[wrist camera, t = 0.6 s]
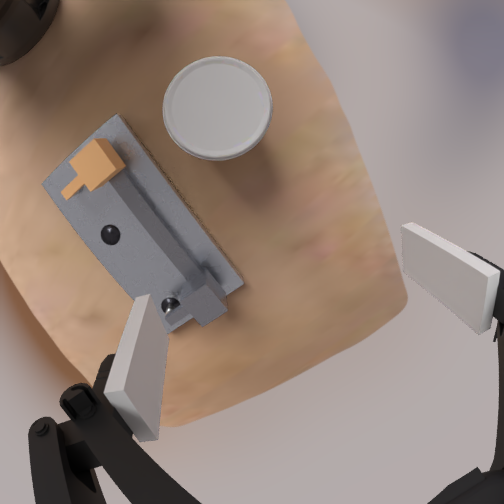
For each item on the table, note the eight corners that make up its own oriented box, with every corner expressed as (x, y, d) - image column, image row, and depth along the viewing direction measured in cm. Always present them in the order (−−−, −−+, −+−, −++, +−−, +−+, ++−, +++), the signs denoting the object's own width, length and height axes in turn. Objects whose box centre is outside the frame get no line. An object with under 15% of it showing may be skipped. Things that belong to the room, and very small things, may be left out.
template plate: (48, 181, 35) (17, 192, 28) (121, 114, 34) (100, 109, 27) (167, 327, 44) (161, 361, 37) (242, 277, 43) (249, 306, 35)
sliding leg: (63, 180, 33) (43, 188, 28) (110, 138, 33) (94, 138, 27) (82, 206, 35) (63, 217, 29) (129, 165, 34) (116, 169, 29)
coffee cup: (234, 167, 38) (245, 179, 27) (163, 137, 36) (143, 136, 24) (267, 99, 36) (292, 82, 24) (196, 68, 33) (191, 38, 22)
